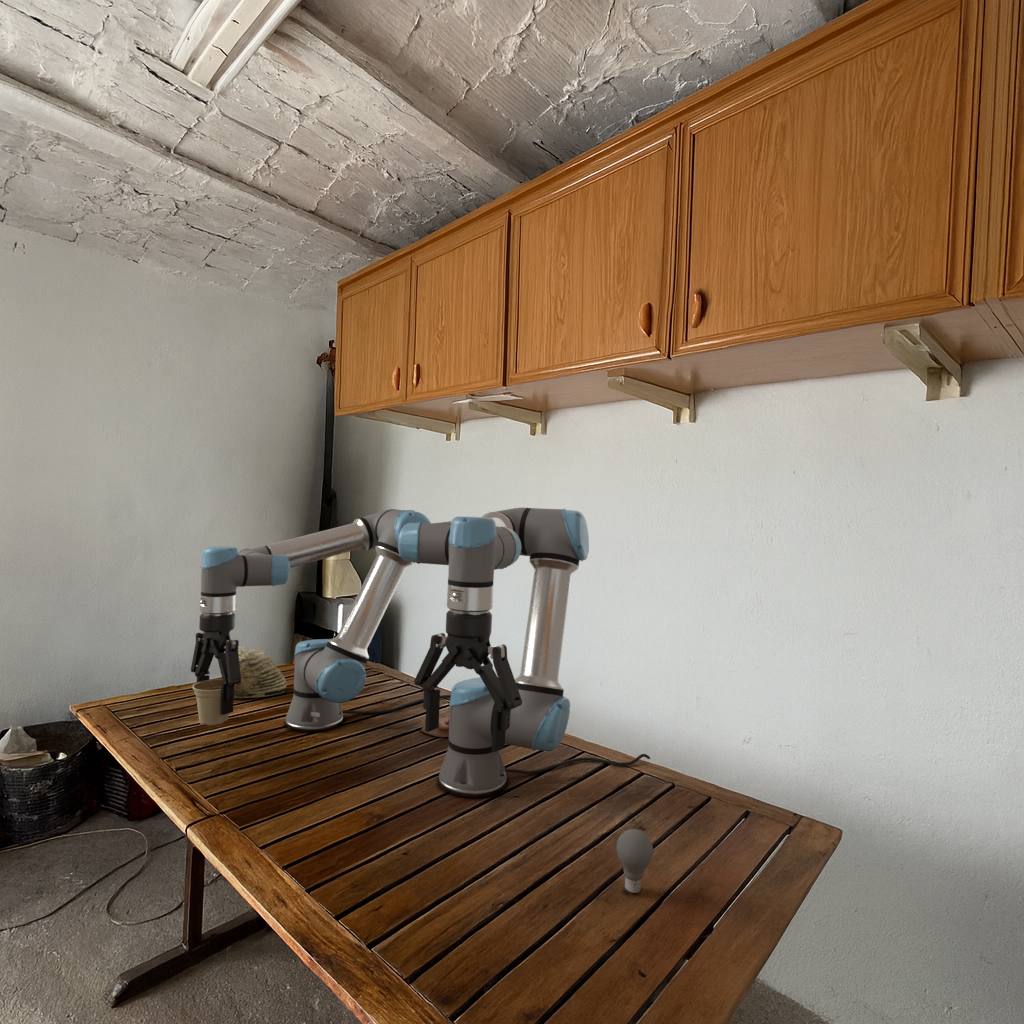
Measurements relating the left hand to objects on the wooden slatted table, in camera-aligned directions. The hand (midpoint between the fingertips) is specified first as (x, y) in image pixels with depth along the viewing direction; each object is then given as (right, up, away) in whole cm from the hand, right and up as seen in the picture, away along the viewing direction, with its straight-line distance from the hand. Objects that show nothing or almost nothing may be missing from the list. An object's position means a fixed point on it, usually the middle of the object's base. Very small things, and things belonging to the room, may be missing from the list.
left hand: (214, 708), depth 148 cm
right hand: (+62, +9, -44) cm, 76 cm away
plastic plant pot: (0, -3, 0) cm, 3 cm away
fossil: (-11, -11, +50) cm, 52 cm away
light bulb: (+90, -17, -42) cm, 101 cm away
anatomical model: (+52, -14, +27) cm, 60 cm away
